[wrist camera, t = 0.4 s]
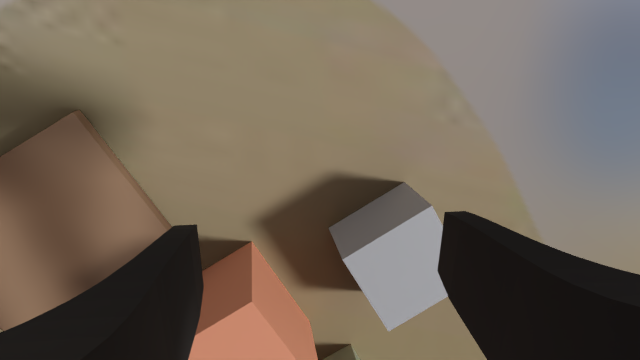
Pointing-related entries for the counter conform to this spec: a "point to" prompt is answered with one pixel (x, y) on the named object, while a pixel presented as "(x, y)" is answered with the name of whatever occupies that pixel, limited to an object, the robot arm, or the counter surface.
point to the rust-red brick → (249, 313)
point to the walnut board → (66, 218)
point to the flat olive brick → (344, 354)
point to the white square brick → (394, 253)
